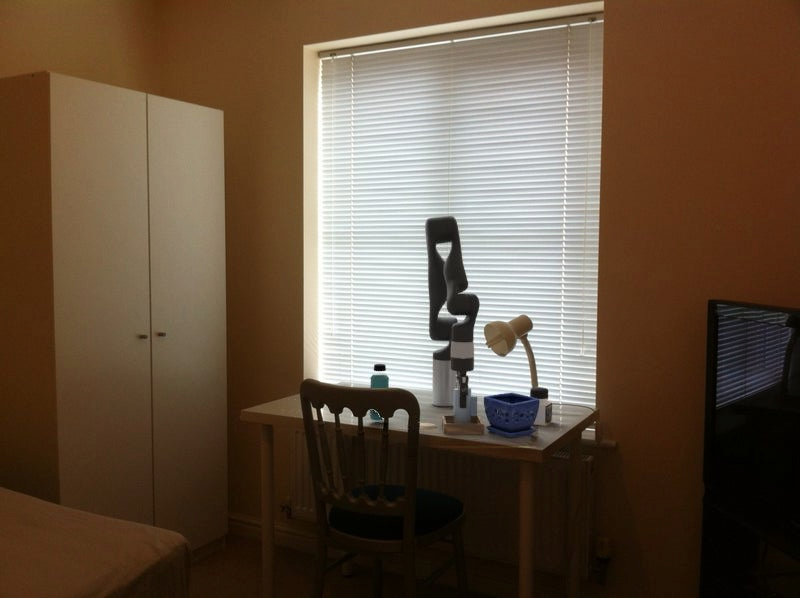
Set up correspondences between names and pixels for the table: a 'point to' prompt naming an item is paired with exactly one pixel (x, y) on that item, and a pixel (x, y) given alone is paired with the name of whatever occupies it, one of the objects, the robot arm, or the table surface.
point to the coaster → (427, 426)
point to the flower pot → (511, 414)
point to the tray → (462, 425)
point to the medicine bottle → (542, 406)
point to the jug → (464, 413)
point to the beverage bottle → (378, 385)
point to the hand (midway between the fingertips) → (461, 405)
